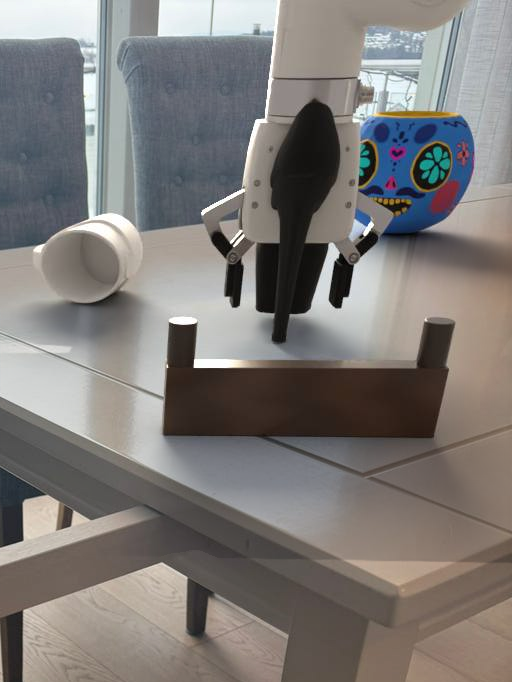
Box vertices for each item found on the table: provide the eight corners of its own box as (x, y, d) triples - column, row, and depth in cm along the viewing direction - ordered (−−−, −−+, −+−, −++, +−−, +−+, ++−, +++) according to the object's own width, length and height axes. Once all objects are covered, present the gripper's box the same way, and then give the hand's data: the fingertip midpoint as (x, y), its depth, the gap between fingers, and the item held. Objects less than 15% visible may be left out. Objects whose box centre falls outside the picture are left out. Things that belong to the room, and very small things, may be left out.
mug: (148, 290, 107) (151, 215, 103) (121, 309, 100) (123, 229, 96) (52, 282, 112) (51, 210, 107) (20, 300, 104) (18, 223, 100)
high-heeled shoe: (318, 284, 100) (353, 69, 88) (321, 353, 86) (363, 108, 73) (243, 281, 102) (267, 69, 89) (234, 348, 88) (260, 107, 75)
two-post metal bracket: (426, 427, 69) (450, 316, 65) (434, 437, 67) (459, 324, 63) (161, 425, 70) (168, 317, 66) (162, 434, 69) (169, 324, 64)
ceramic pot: (317, 237, 133) (334, 117, 124) (349, 218, 145) (367, 108, 137) (447, 247, 125) (473, 119, 117) (469, 226, 138) (494, 109, 130)
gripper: (401, 98, 84) (366, 296, 93) (207, 100, 85) (192, 295, 94) (424, 104, 77) (384, 315, 87) (214, 106, 79) (197, 314, 88)
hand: (284, 304), depth 90 cm, fingers open, 9 cm apart
